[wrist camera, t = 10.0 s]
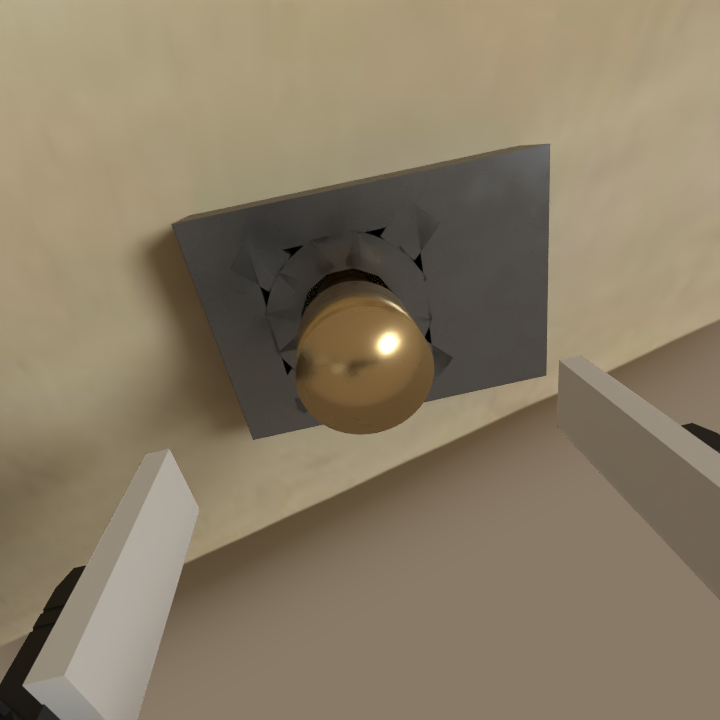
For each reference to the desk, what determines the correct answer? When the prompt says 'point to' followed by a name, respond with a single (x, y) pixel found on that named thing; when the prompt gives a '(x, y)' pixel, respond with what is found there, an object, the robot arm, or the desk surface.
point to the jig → (383, 273)
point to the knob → (361, 357)
